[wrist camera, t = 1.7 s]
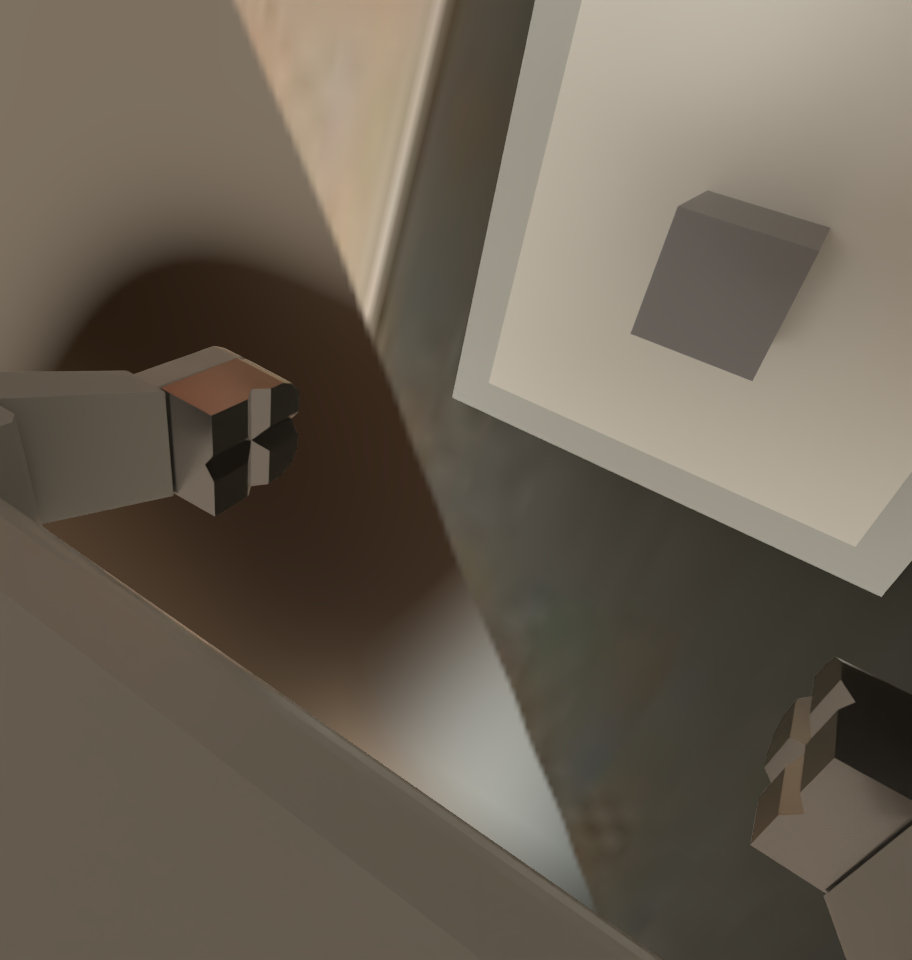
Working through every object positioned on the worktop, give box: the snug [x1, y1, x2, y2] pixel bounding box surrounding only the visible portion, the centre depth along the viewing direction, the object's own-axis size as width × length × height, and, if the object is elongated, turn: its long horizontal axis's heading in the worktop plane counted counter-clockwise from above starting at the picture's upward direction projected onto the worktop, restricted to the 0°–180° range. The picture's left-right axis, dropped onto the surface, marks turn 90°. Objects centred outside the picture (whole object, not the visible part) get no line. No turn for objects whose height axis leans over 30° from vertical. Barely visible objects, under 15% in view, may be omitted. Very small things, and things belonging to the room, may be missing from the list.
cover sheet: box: [489, 0, 912, 547], centre depth 21 cm, size 16×16×5 cm
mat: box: [452, 0, 912, 597], centre depth 23 cm, size 20×20×1 cm
